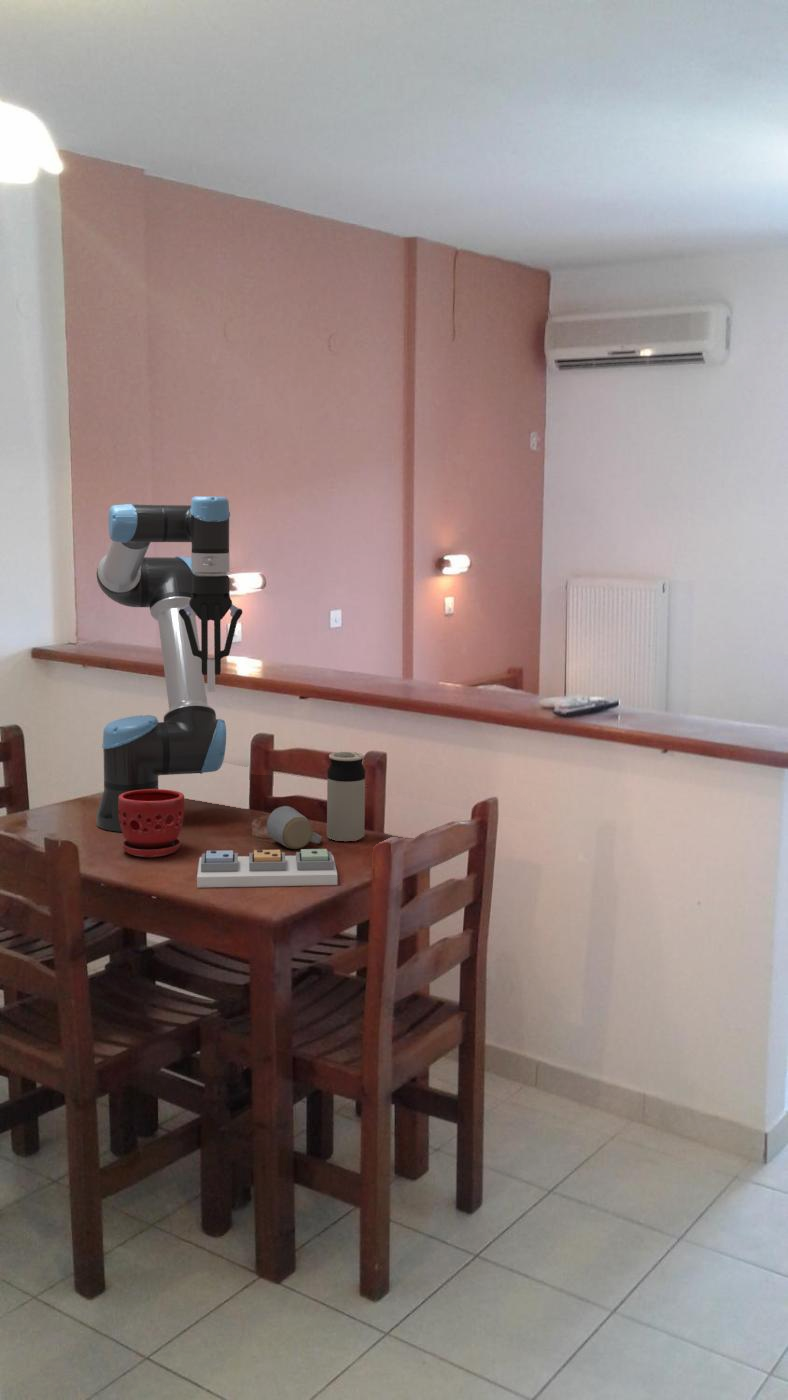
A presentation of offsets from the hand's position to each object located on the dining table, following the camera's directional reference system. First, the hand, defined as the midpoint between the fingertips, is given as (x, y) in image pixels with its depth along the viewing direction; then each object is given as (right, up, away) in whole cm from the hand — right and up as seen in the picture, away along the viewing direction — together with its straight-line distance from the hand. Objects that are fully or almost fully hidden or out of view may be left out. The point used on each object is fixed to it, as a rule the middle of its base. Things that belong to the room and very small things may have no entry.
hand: (211, 690), depth 257 cm
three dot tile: (+13, -33, -15) cm, 39 cm away
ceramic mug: (+17, -32, +7) cm, 37 cm away
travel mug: (+27, -31, +12) cm, 43 cm away
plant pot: (-12, -33, 0) cm, 35 cm away
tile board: (+13, -36, -15) cm, 41 cm away
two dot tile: (+4, -33, -16) cm, 37 cm away
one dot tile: (+22, -33, -14) cm, 42 cm away
